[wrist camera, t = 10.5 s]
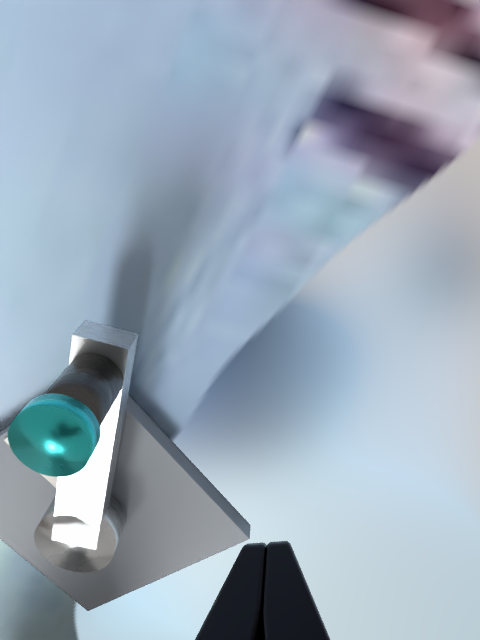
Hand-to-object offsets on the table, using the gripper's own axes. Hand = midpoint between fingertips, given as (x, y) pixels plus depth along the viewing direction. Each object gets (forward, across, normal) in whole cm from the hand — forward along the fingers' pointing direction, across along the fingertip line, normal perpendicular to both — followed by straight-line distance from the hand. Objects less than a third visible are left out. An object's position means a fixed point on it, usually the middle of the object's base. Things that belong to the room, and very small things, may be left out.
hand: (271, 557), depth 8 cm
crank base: (+10, +10, +8) cm, 17 cm away
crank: (+9, +8, +4) cm, 13 cm away
